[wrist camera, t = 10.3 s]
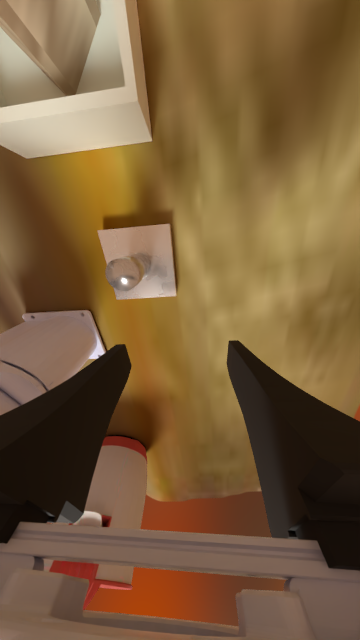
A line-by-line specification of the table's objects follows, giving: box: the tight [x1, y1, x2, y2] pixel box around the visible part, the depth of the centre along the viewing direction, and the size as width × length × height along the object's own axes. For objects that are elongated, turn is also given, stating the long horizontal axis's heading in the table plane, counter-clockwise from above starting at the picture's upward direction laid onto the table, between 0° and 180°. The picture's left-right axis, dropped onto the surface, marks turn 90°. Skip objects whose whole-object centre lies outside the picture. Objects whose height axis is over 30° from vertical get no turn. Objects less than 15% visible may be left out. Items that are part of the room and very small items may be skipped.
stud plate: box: [98, 224, 177, 299], centre depth 14 cm, size 7×7×6 cm
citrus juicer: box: [43, 436, 147, 610], centre depth 28 cm, size 16×17×20 cm
